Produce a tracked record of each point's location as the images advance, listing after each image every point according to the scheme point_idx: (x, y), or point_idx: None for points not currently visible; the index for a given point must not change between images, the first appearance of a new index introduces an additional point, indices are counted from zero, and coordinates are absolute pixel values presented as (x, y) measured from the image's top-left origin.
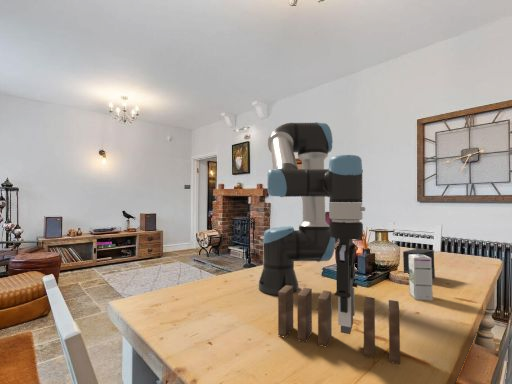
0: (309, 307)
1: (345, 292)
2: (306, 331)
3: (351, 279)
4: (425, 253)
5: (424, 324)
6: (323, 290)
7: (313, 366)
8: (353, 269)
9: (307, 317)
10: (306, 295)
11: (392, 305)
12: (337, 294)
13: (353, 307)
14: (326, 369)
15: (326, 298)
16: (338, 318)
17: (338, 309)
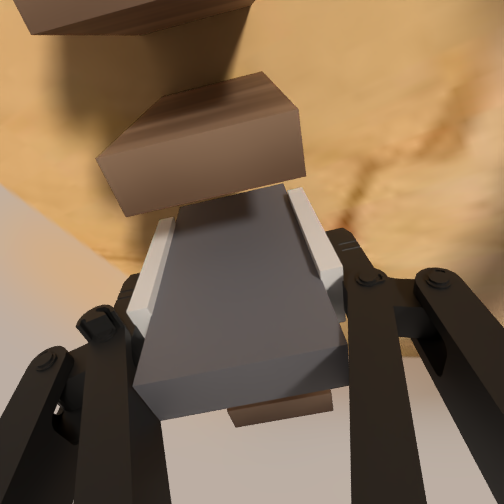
0: (194, 7)
1: (63, 407)
2: (143, 31)
3: (294, 394)
4: None
5: (483, 301)
6: (296, 110)
7: (37, 147)
8: (457, 422)
9: (151, 23)
10: (70, 24)
11: (274, 410)
12: (33, 366)
13: None
14: (63, 184)
15: (141, 209)
16: (154, 235)
17: (146, 260)
